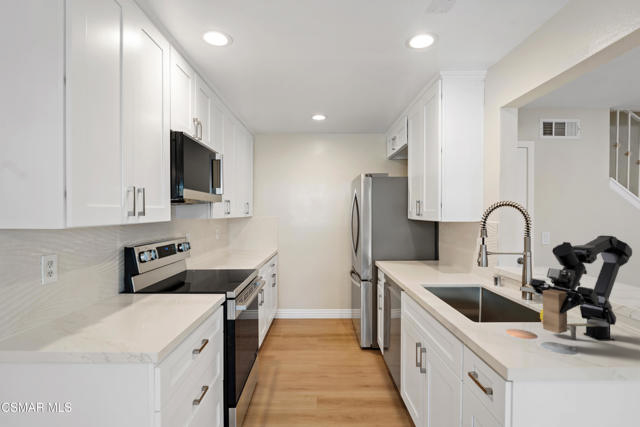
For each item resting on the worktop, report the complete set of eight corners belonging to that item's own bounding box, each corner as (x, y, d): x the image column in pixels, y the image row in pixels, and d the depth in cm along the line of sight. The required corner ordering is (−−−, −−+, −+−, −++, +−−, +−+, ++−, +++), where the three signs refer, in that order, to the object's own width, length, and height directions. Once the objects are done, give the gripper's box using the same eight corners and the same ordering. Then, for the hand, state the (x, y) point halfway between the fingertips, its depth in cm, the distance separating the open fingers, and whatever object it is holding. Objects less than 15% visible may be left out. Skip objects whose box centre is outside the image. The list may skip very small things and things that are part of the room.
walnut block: (551, 326, 110) (551, 289, 110) (567, 331, 105) (566, 292, 105) (543, 328, 107) (542, 290, 108) (558, 333, 103) (558, 293, 103)
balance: (607, 346, 109) (607, 321, 110) (610, 352, 105) (610, 326, 105) (541, 334, 121) (541, 311, 121) (540, 339, 116) (540, 315, 116)
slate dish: (561, 345, 110) (561, 341, 110) (586, 357, 100) (586, 354, 100) (533, 345, 110) (533, 342, 110) (556, 358, 100) (556, 354, 100)
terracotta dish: (525, 332, 123) (525, 328, 123) (544, 342, 113) (544, 338, 113) (500, 332, 123) (500, 329, 123) (516, 342, 113) (516, 338, 113)
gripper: (532, 256, 117) (514, 289, 112) (593, 263, 100) (574, 302, 95) (545, 276, 120) (528, 309, 115) (607, 286, 103) (589, 324, 98)
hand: (552, 310), depth 106 cm, fingers closed on walnut block, 5 cm apart
